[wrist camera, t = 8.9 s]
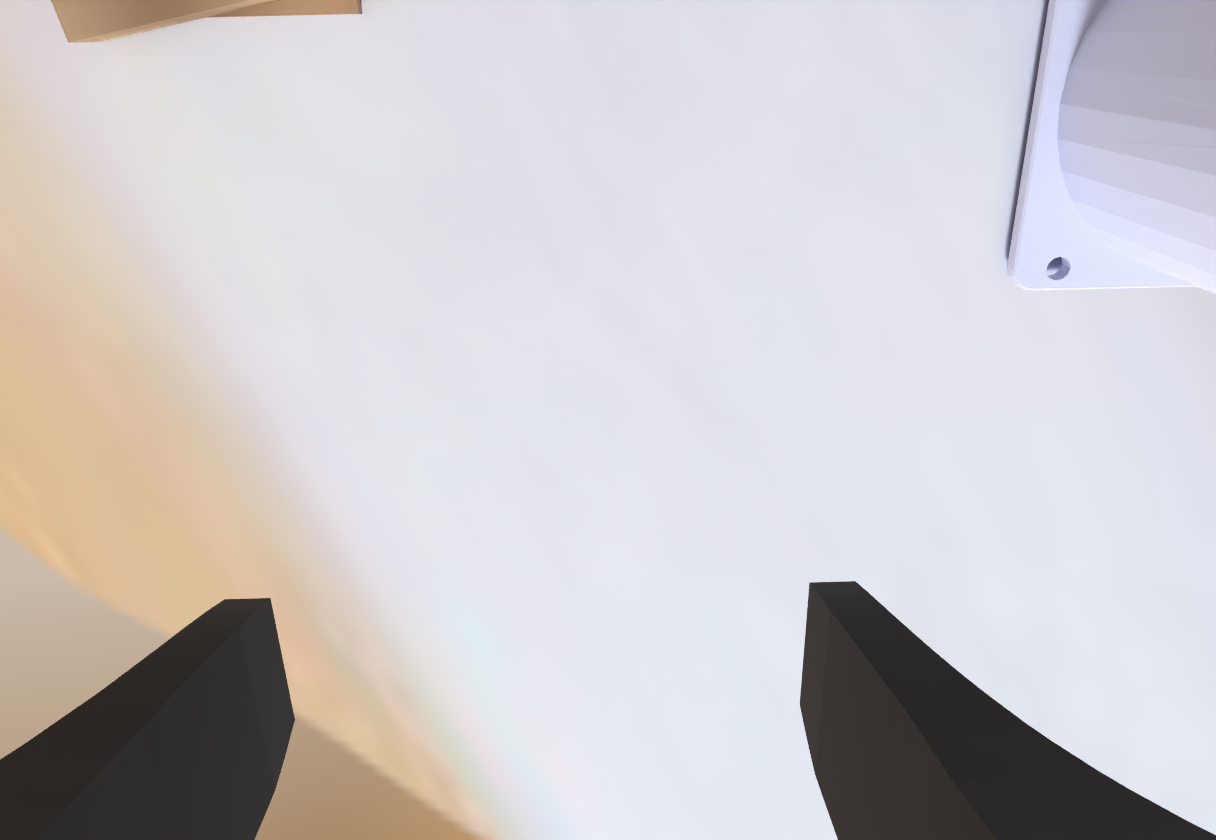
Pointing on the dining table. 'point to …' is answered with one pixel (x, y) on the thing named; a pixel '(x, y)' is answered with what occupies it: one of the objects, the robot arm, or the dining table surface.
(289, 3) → the slab bottom
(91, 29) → the slab top
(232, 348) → the dining table surface
